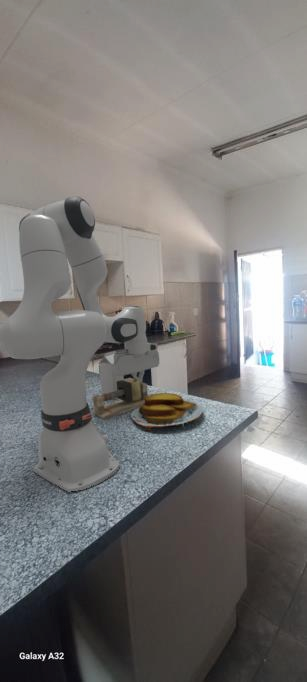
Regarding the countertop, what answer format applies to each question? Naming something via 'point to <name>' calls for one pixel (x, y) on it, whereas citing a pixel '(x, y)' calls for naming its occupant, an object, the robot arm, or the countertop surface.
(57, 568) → the countertop surface
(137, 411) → the food on plate
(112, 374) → the milk carton
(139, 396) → the tan block
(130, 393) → the dark grey hooked block
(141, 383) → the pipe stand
